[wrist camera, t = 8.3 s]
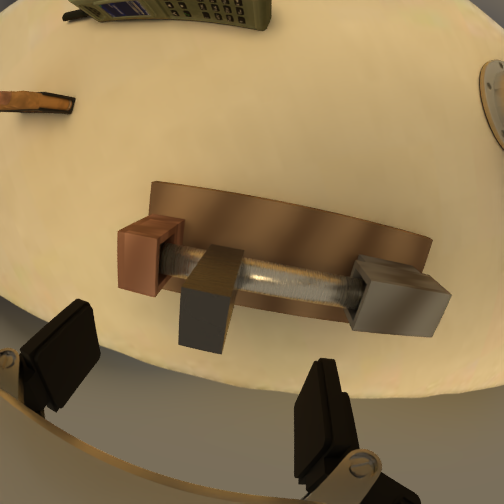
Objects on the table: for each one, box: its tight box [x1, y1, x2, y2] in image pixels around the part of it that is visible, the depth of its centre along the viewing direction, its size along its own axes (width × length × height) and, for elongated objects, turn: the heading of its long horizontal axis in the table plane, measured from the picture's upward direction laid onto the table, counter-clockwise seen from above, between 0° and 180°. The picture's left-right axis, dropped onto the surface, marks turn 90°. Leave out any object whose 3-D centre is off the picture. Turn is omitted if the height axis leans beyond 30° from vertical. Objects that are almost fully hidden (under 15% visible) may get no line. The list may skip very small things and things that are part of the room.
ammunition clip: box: [0, 91, 75, 114], centre depth 15 cm, size 11×2×12 cm, turn 73°
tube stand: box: [117, 181, 452, 337], centre depth 21 cm, size 26×10×7 cm, turn 80°
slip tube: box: [159, 242, 367, 354], centre depth 17 cm, size 20×4×8 cm, turn 80°
